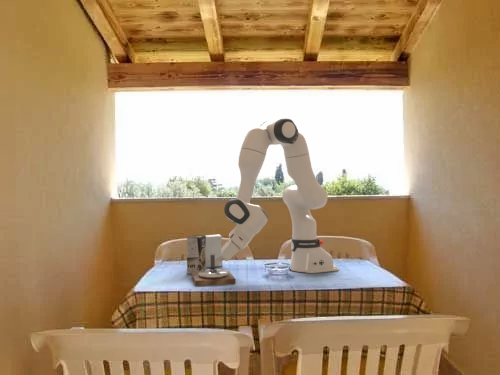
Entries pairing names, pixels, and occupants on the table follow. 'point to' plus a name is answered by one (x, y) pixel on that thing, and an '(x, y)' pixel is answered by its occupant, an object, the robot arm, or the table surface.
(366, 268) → the table surface
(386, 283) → the table surface
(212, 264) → the dial
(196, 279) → the dial board
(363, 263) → the table surface
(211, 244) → the skincare box
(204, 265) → the coffee box
